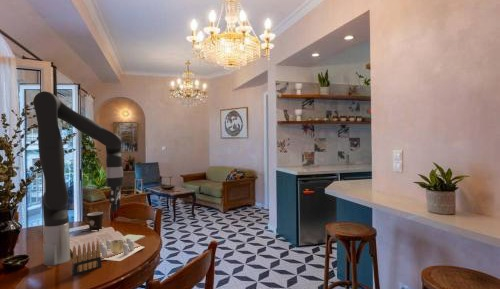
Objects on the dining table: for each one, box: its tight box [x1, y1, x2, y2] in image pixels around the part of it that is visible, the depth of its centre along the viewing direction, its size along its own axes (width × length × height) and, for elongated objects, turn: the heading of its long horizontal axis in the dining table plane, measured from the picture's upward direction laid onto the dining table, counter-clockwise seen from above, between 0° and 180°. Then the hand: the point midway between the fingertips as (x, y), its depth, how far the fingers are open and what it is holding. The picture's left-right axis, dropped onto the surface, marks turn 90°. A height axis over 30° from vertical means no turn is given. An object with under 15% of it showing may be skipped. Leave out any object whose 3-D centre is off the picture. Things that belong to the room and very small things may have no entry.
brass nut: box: [110, 239, 125, 253], centre depth 147 cm, size 6×5×5 cm
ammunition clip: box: [71, 240, 103, 277], centre depth 127 cm, size 11×2×12 cm, turn 132°
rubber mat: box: [121, 234, 146, 243], centre depth 166 cm, size 11×11×1 cm
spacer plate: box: [99, 238, 145, 262], centre depth 147 cm, size 18×18×5 cm
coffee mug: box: [82, 211, 104, 231], centre depth 186 cm, size 12×9×10 cm
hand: (115, 210), depth 148 cm, fingers open, 8 cm apart
